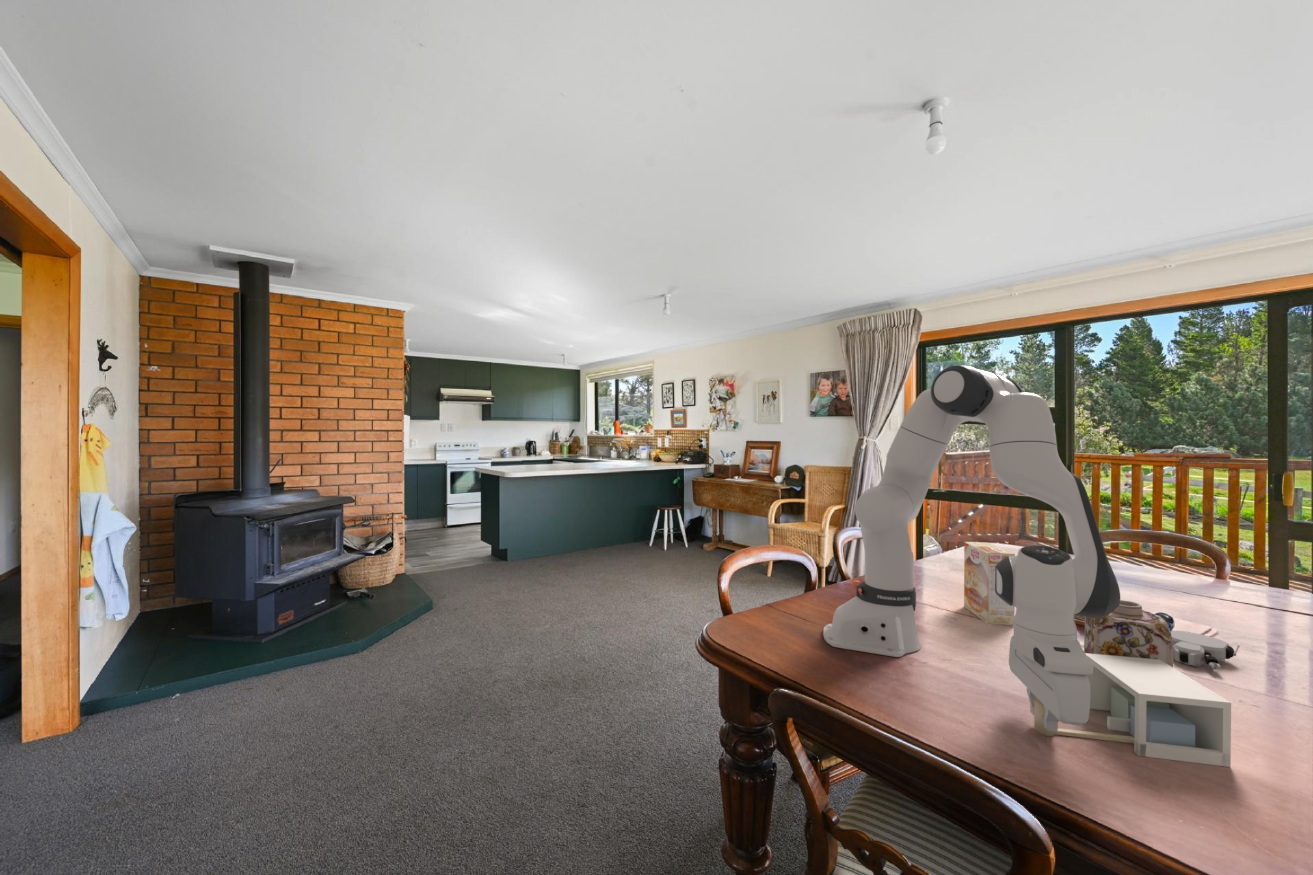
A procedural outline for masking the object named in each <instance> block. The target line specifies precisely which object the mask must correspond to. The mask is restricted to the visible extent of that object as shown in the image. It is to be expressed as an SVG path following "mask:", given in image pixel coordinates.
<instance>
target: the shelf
mask: <svg viewBox="0 0 1313 875" xmlns="http://www.w3.org/2000/svg"><path fill="white" fill-rule="evenodd" d="M1085 654H1086V655H1087V657H1088V658H1089V659H1090V661H1091V662H1092V665H1093V674H1092V675H1086V676H1087V678H1088V680H1089V683H1090V710H1098V711H1099V710H1100V711H1107V712H1111V687H1119V688H1124V689H1125V690H1127V691H1128V692H1129V693H1131V694H1132V695H1133V696H1135V742H1134V743H1133V744H1134V750H1133V751H1134V753H1135V754H1136V755H1137V756H1139V757H1146V758H1153V759H1161V760H1170V761H1176V762H1177V761H1178V762H1185V763H1193V764H1202V765H1211V766H1219V767H1228V768H1231V764H1232V763H1231V761H1232V760H1231V757H1232V755H1231V754H1232V752H1231V751H1232V744H1231V743H1232V702H1231V701H1229V700H1227V699H1225V698H1224V697H1222V696H1221V695H1220V694H1218V693H1216V692H1214V691H1213V690H1211V689H1209V688H1207V687H1206V686H1205V685H1203V684H1201V683H1199V682H1198V681H1196V680H1194V679H1192V678H1191V677H1189V676H1188V675H1186V674H1184V673H1183V672H1181V671H1179V670H1178V669H1177V668H1174V666H1173V667H1171V666H1169V665H1168V664H1166V663H1164V662H1163V661H1161V660H1159V659H1147V658H1135V657H1124V656H1112V655H1100V654H1089V653H1085ZM1146 701H1156V702H1166V703H1168V704H1169V709H1172V710H1174V711H1175V712H1177V713H1178V714H1180V715H1181V716H1183V717H1184V718H1185V719H1187V720H1188V721H1190V722H1191V723H1192V724H1194V725H1195V747H1186V746H1177V745H1169V744H1160V743H1152V742H1146ZM1106 728H1107V729H1108V730H1109V731H1115V732H1116V731H1118V732H1124V733H1125V732H1127V733H1130V728H1131V719H1130V718H1121V717H1115V716H1109V715H1107V718H1106Z"/></svg>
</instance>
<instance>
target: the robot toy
mask: <svg viewBox="0 0 1313 875" xmlns="http://www.w3.org/2000/svg"><path fill="white" fill-rule="evenodd" d="M1169 632H1170V633H1171V637H1172V640H1173V660H1175V661H1176V662H1178V663H1181V664H1185V665H1189V666H1194V667H1200V666H1202V665H1203V664H1204V663H1205V664H1206V666H1207V667H1209V668H1211V669H1221V667H1222V666H1221V665H1220V662H1219V661H1225V660H1230V659H1231V658H1233V657H1237V652H1239V651H1238V650H1239V648H1240V647H1241V646H1240V644H1237V646H1236V649H1234V647H1232V646H1230V645H1229V643H1228V642H1226V641H1224V640H1223V639H1220V638H1216V637H1212V636H1210V635H1206V634H1205V635H1204V634H1201V633H1196V632H1190V631H1184V630H1171V631H1169Z"/></svg>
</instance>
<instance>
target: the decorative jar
mask: <svg viewBox="0 0 1313 875" xmlns="http://www.w3.org/2000/svg"><path fill="white" fill-rule="evenodd" d="M1170 632H1171V631H1170V630H1169V626H1168V622H1167V621H1166V620H1165V619H1164V618H1163V617H1162V616H1160V615H1157V614H1154V613H1152V612H1150V611H1146V610H1145V609H1143V606H1142V604H1140V603H1138V602H1135V601H1129V600H1122V599H1120V604H1119V606H1118V607H1117V608H1116V609H1115V610H1114V611H1113V612H1111V613H1110V614H1108V615H1106V616H1105V617H1103V618H1100V619H1094V618H1089V617H1084V635H1083V636H1084V639H1083V640H1084V641H1083V651H1084V653H1089V654H1100V655H1112V656H1124V657H1135V658H1147V659H1159V660H1161V661H1163V662H1164V663H1166V664H1168V665H1169V666H1171V667H1173V668H1174V658H1173V640H1172V637H1171V633H1170Z"/></svg>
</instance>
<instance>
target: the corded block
mask: <svg viewBox="0 0 1313 875" xmlns="http://www.w3.org/2000/svg"><path fill="white" fill-rule="evenodd" d="M1045 712H1046V710H1045V709H1044V704H1043V703H1042V702H1041V701H1040V700H1039V699H1035V700H1034V715H1033V720H1034V721H1033V722H1034V724H1033V725H1034V726H1033V729H1034V731H1035V732H1036V733H1038V734H1039V735H1042V736H1046V737H1053V736H1055V735H1058V736H1059V735H1060V736H1065V737H1066V736H1067V737H1076V738H1077V737H1078V738H1083V739H1084V738H1085V739H1093V740H1102V741H1109V742H1111V741H1112V742H1119V743H1127V744H1134V742H1135V706H1133V705H1131V728H1130V732H1129V733H1130V735H1131V736H1129V735H1119V734H1111V733H1104V732H1103V733H1102V732H1094V731H1086V730H1085V731H1084V730H1078V729H1077V730H1076V729H1075V730H1074V729H1069V728H1061V727H1060V728H1059V727H1058V730H1057V731H1056V732H1054V731H1048V730H1046V729H1045V727H1044V726H1043V725H1042V716H1045ZM1146 742H1152V743H1160V744H1169V745H1177V746H1186V747H1195V748H1196V746H1195V725H1194V724H1192V723H1191V722H1190V721H1188V720H1187V719H1185V718H1184V717H1183V716H1181V715H1180V714H1178V713H1177V712H1175V711H1174V710H1172V709H1162V708H1153V707H1146Z"/></svg>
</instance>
